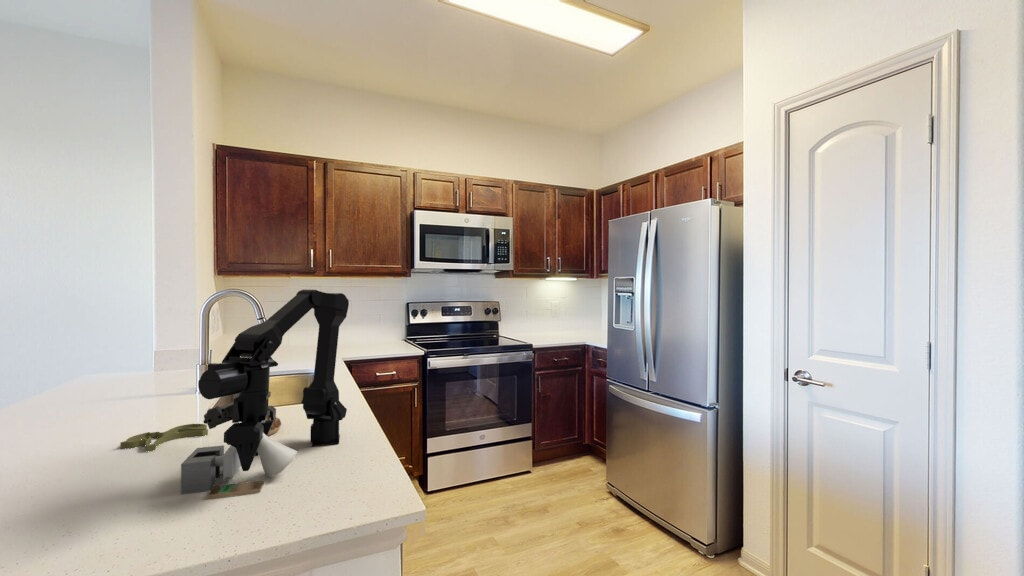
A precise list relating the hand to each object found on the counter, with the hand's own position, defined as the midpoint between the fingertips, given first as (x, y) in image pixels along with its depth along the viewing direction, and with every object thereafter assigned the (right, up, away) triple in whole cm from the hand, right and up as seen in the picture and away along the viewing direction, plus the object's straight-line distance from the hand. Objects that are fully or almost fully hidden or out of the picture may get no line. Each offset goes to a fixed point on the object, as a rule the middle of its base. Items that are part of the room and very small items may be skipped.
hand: (250, 462), depth 92 cm
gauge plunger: (-4, -2, -3) cm, 5 cm away
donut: (-15, -4, +28) cm, 32 cm away
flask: (+6, -1, +2) cm, 6 cm away
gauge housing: (-3, -3, -3) cm, 5 cm away
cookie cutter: (-36, -4, +23) cm, 43 cm away
